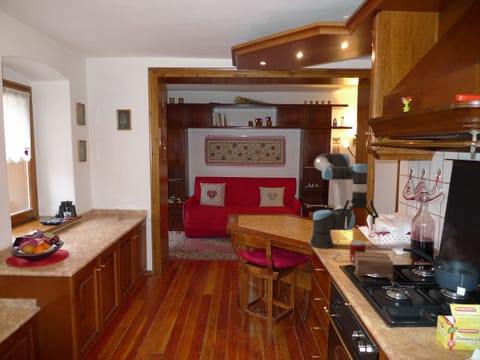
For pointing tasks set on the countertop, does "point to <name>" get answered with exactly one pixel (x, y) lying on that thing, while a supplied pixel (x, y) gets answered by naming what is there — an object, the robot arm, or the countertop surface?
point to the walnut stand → (373, 264)
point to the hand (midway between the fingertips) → (358, 229)
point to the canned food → (356, 249)
